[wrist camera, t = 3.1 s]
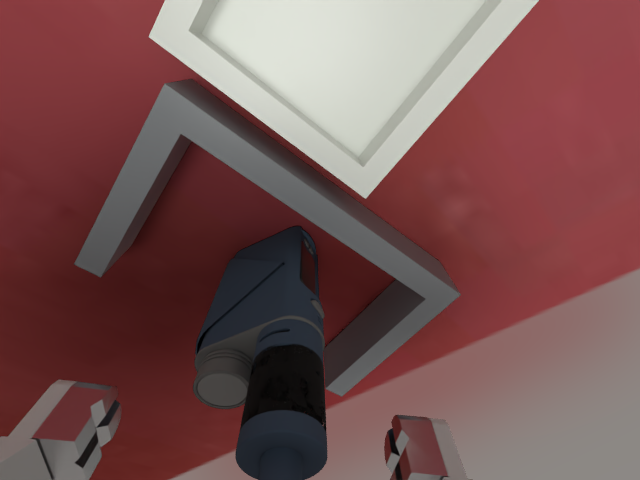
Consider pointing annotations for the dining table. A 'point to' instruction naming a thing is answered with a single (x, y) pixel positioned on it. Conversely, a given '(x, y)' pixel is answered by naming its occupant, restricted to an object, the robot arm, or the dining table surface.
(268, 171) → the bay
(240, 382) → the vaping device
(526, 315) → the dining table surface
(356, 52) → the tray
